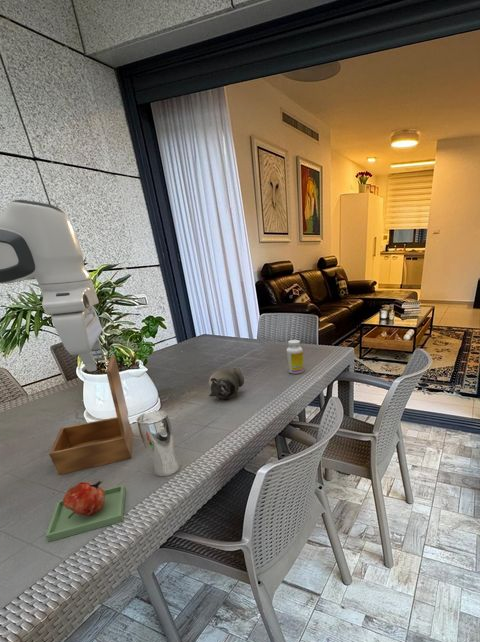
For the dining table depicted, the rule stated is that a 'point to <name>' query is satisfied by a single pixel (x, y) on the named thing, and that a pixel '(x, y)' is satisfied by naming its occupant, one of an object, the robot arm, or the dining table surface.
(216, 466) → the dining table surface
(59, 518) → the tray
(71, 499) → the pomegranate
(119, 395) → the box lid
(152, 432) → the beer glass
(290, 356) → the supplement bottle
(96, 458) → the warming box
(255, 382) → the dining table surface
